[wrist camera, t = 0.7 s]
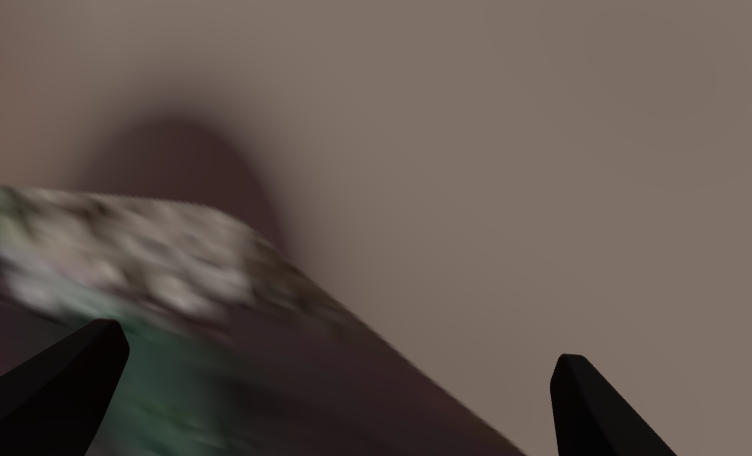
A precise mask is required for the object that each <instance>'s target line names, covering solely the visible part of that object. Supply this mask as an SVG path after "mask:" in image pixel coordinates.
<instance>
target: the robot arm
mask: <svg viewBox="0 0 752 456" xmlns="http://www.w3.org/2000/svg"><path fill="white" fill-rule="evenodd" d="M129 352H130V348H129V344H128V341H127V339H126V336H125V334H124V332H123V329H122V327H121V324H120V323H119V322H118V321H117V320H115V319H104V318H98V319H94V320H92V321H91V322H89V323H87V324H86V325H84V326H82V327H81V328H79V329H77V330H76V331H74V332H73V333H71V334H69V335H68V336H66V337H64V338H63V339H61V340H59V341H58V342H56V343H54V344H53V345H51V346H49V347H48V348H46V349H45V350H43V351H41V352H40V353H38V354H36V355H35V356H33V357H31V358H30V359H28V360H26V361H25V362H23V363H22V364H20V365H18V366H17V367H15V368H13V369H12V370H10V371H8V372H7V373H5V374H3V375H2V376H0V456H84V455H85V453H86V452H87V450H88V448H89V446H90V444H91V442H92V440H93V438H94V437H95V435H96V433H97V431H98V429H99V427H100V424H101V422H102V420H103V418H104V416H105V413H106V411H107V408H108V406H109V403H110V401H111V399H112V396H113V394H114V391H115V389H116V386H117V384H118V382H119V379H120V377H121V374H122V372H123V369H124V367H125V365H126V362H127V360H128V357H129ZM550 393H551V401H552V409H553V416H554V423H555V431H556V438H557V446H558V453H559V456H677V455H676V454H675V453H674V452H673V451H672V450H671V449H670V447H669V446H668V445H667V444H666V443H665V442H664V441H663V440H662V439H661V438H660V437H659V436H658V435H657V434H656V433H655V431H654V430H653V429H652V428H651V427H650V426H649V425H648V424H647V423H646V422H645V421H644V420H643V419H642V418H641V416H640V415H639V414H638V413H637V412H636V411H635V410H634V409H633V408H632V407H631V406H630V405H629V404H628V403H627V401H626V400H625V399H624V398H623V397H622V396H621V395H620V394H619V393H618V392H617V391H616V390H615V389H614V388H613V386H612V385H611V384H610V383H609V382H608V381H607V380H606V379H605V378H604V377H603V376H602V375H601V374H600V373H599V372H598V370H597V369H596V368H595V367H594V366H593V365H592V364H591V363H590V362H589V361H588V360H587V359H586V358H585V357H584V356H582V355H575V354H562V355H561V356H560V357H559V359H558V361H557V364H556V367H555V370H554V373H553V375H552V378H551V382H550Z"/></svg>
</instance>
